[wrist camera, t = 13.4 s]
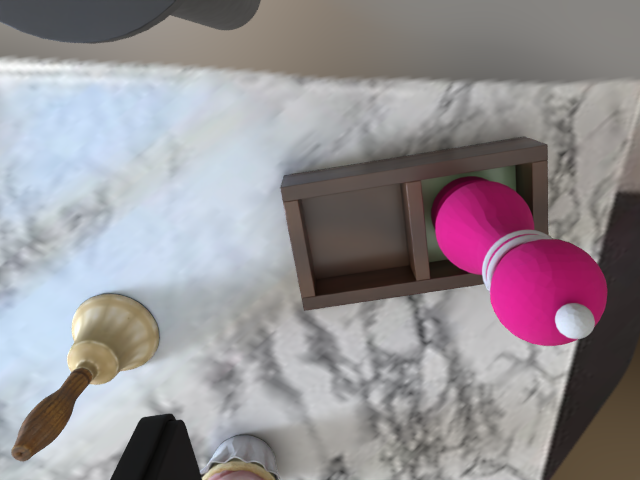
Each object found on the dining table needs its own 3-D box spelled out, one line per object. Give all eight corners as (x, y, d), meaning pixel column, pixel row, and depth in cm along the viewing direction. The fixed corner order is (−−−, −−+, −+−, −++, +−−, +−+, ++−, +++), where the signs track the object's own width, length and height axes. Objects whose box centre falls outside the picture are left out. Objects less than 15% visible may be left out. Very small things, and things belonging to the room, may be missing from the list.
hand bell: (65, 354, 49) (-48, 485, 34) (81, 281, 46) (-33, 389, 31) (148, 378, 50) (75, 517, 35) (169, 309, 47) (99, 426, 32)
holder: (283, 175, 43) (279, 187, 39) (525, 136, 42) (547, 144, 38) (305, 289, 46) (304, 310, 42) (528, 255, 45) (548, 274, 41)
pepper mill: (426, 254, 44) (506, 398, 25) (423, 174, 42) (510, 268, 23) (508, 246, 44) (650, 385, 25) (510, 165, 42) (669, 253, 23)
